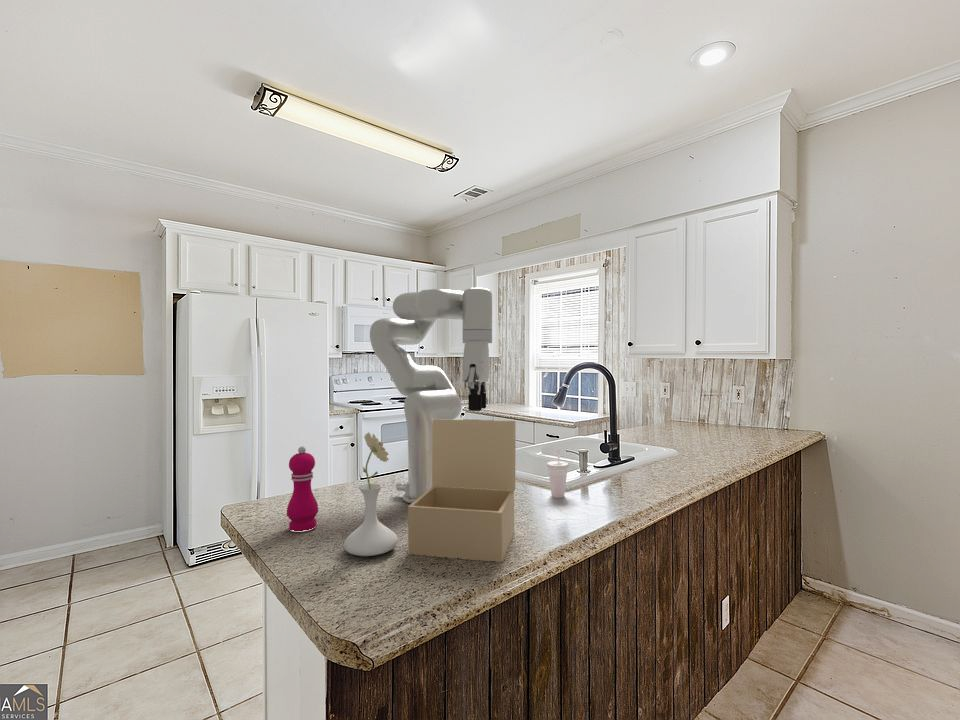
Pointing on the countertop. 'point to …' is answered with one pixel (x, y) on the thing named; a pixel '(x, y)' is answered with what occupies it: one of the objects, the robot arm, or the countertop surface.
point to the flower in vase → (371, 514)
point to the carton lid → (474, 454)
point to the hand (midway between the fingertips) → (477, 408)
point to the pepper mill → (302, 492)
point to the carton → (461, 523)
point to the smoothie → (557, 476)
